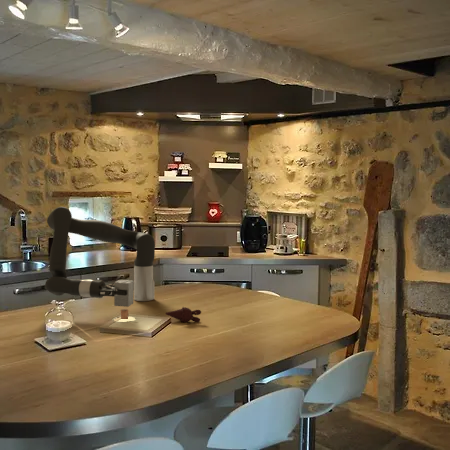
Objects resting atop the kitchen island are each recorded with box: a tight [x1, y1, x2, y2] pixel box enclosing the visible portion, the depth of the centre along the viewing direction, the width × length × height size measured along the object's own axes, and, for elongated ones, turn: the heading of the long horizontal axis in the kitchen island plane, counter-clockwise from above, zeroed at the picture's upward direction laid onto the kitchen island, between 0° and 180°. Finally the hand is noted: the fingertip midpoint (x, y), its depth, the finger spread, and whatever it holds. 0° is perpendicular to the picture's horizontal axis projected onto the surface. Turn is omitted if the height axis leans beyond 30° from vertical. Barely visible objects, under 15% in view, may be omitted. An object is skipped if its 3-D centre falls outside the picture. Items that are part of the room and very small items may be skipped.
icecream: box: [165, 306, 202, 323], centre depth 221 cm, size 7×7×15 cm
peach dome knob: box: [120, 308, 129, 319], centre depth 222 cm, size 3×3×4 cm
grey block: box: [113, 279, 134, 308], centre depth 220 cm, size 6×6×10 cm
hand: (129, 291), depth 220 cm, fingers closed on grey block, 6 cm apart
